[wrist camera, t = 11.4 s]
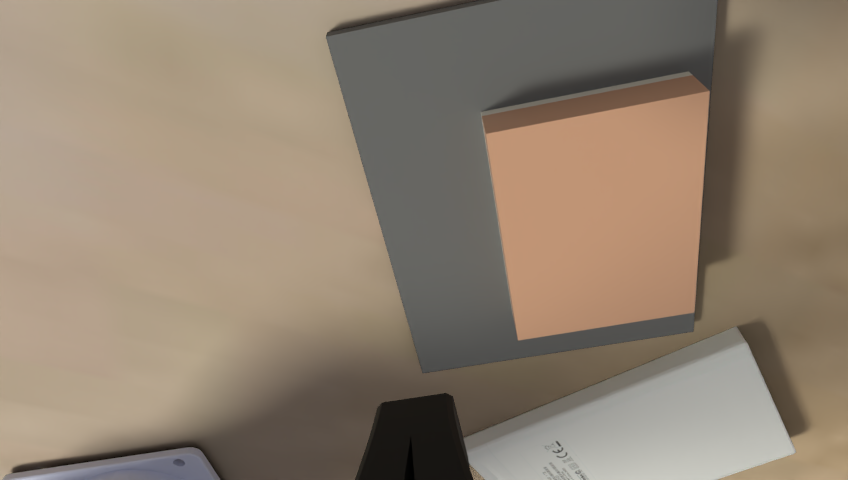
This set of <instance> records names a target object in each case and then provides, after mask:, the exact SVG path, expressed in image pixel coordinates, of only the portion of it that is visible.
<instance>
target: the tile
mask: <svg viewBox="0 0 848 480" xmlns="http://www.w3.org/2000/svg"><path fill="white" fill-rule="evenodd" d="M709 95H710V91H709V90H708V89H707V88H706V87H705V86H704V85H703V84H702V83H701V82H700V81H699V80H697V79H696V78H695V77H694V76H693V75H692V74H691V73H690V72H689V71H688V72H683V73H677V74H672V75H667V76H662V77H657V78H652V79H647V80H642V81H636V82H631V83H626V84H621V85H616V86H611V87H606V88H601V89H595V90H590V91H585V92H580V93H575V94H570V95H565V96H560V97H554V98H549V99H544V100H539V101H534V102H529V103H524V104H519V105H514V106H508V107H503V108H498V109H493V110H488V111H483V112H481V117H482V124H483V130H484V136H485V143H486V149H487V155H488V162H489V168H490V175H491V181H492V187H493V194H494V200H495V206H496V213H497V219H498V225H499V232H500V238H501V244H502V251H503V257H504V263H505V270H506V276H507V282H508V289H509V295H510V301H511V308H512V314H513V318H514V323H515V328H516V333H517V338H518V340H525V339H531V338H537V337H544V336H550V335H556V334H562V333H569V332H575V331H581V330H588V329H594V328H600V327H607V326H613V325H619V324H625V323H632V322H638V321H644V320H651V319H657V318H663V317H670V316H676V315H682V314H688V313H694V311H695V296H696V282H697V268H698V253H699V239H700V224H701V210H702V196H703V181H704V167H705V153H706V138H707V124H708V109H709Z"/></svg>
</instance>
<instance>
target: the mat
mask: <svg viewBox="0 0 848 480" xmlns="http://www.w3.org/2000/svg"><path fill="white" fill-rule="evenodd" d="M717 3H718V0H479V1H475V2H470V3H465V4H460V5H456V6H451V7H446V8H441V9H437V10H432V11H427V12H422V13H418V14H413V15H408V16H403V17H398V18H394V19H389V20H384V21H379V22H375V23H370V24H365V25H360V26H356V27H351V28H346V29H341V30H337V31H332V32H327V35H326V39H327V42H328V46H329V49H330V53H331V56H332V60H333V63H334V67H335V70H336V74H337V77H338V81H339V84H340V88H341V91H342V94H343V98H344V101H345V105H346V108H347V112H348V115H349V119H350V122H351V126H352V129H353V133H354V136H355V140H356V143H357V147H358V150H359V154H360V157H361V161H362V164H363V167H364V171H365V174H366V178H367V181H368V185H369V188H370V192H371V195H372V199H373V202H374V206H375V209H376V213H377V216H378V220H379V223H380V227H381V230H382V234H383V237H384V241H385V244H386V247H387V251H388V254H389V258H390V261H391V265H392V268H393V272H394V275H395V279H396V282H397V286H398V289H399V293H400V296H401V300H402V303H403V307H404V310H405V314H406V317H407V320H408V324H409V327H410V331H411V334H412V338H413V341H414V345H415V348H416V352H417V355H418V359H419V362H420V366H421V369H422V373H428V372H434V371H441V370H447V369H454V368H460V367H467V366H473V365H480V364H486V363H493V362H499V361H506V360H512V359H519V358H525V357H532V356H538V355H545V354H551V353H558V352H564V351H571V350H577V349H584V348H590V347H596V346H603V345H609V344H616V343H622V342H629V341H635V340H642V339H648V338H655V337H661V336H668V335H674V334H681V333H687V332H693V330H694V316H695V311H694V313H688V314H682V315H676V316H670V317H663V318H657V319H651V320H644V321H638V322H632V323H625V324H619V325H613V326H607V327H600V328H594V329H588V330H581V331H575V332H569V333H562V334H556V335H550V336H544V337H537V338H531V339H525V340H518V338H517V333H516V328H515V323H514V318H513V314H512V308H511V301H510V295H509V289H508V282H507V276H506V270H505V263H504V257H503V251H502V244H501V238H500V232H499V225H498V219H497V213H496V206H495V200H494V194H493V187H492V181H491V175H490V168H489V162H488V155H487V149H486V143H485V136H484V130H483V124H482V117H481V112H483V111H488V110H493V109H498V108H503V107H508V106H514V105H519V104H524V103H529V102H534V101H539V100H544V99H549V98H554V97H560V96H565V95H570V94H575V93H580V92H585V91H590V90H595V89H601V88H606V87H611V86H616V85H621V84H626V83H631V82H636V81H642V80H647V79H652V78H657V77H662V76H667V75H672V74H677V73H683V72H688V71H689V72H690V73H691V74H692V75H693V76H694V77H695V78H696V79H697V80H699V81H700V82H701V83H702V84H703V85H704V86H705V87H706V88H707V89H708V90H709V91H710V95H709V109H708V124H707V138H706V153H707V139H708V125H709V112H710V98H711V84H712V71H713V57H714V43H715V30H716V16H717ZM706 153H705V166H706ZM704 180H705V167H704ZM703 194H704V181H703ZM702 207H703V196H702ZM701 221H702V210H701ZM700 234H701V224H700ZM699 248H700V239H699ZM698 262H699V253H698ZM697 275H698V268H697ZM696 289H697V282H696ZM695 303H696V296H695Z"/></svg>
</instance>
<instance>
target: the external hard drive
mask: <svg viewBox="0 0 848 480" xmlns="http://www.w3.org/2000/svg"><path fill="white" fill-rule="evenodd" d="M463 439H464V443H465V447H466V451H467V455H468V461H469V464H470V465H471V466H472V467H473V468H474V469H475V470H476V471H477V472H478V473H479V474H480V475H481V476H482V477H483V478H484V479H485V480H717V479H720V478H723V477H726V476H729V475H732V474H735V473H738V472H741V471H744V470H747V469H750V468H753V467H756V466H759V465H762V464H765V463H768V462H770V461H773V460H777V459H780V458H783V457H786V456H789V455H792V454H794V453H796V450H795V448H794V446H793V443H792V441H791V439H790V437H789V435H788V432H787V430H786V428H785V426H784V423H783V421H782V419H781V417H780V414H779V412H778V410H777V408H776V406H775V403H774V401H773V399H772V396H771V394H770V392H769V390H768V388H767V385H766V383H765V381H764V378H763V376H762V374H761V372H760V370H759V367H758V365H757V363H756V361H755V358H754V357H753V355H752V353H751V350H750V348H749V345H748V343H747V342H746V341H745V339H744V337H743V336H742V334H741V332H740V331H739V329H738V328H737V327H733V328H731V329H728V330H726V331H724V332H721V333H719V334H716V335H714V336H711V337H709V338H706V339H704V340H702V341H699V342H697V343H694V344H692V345H689V346H687V347H685V348H682V349H680V350H677V351H675V352H672V353H670V354H668V355H665V356H663V357H660V358H658V359H655V360H653V361H651V362H648V363H646V364H643V365H641V366H638V367H636V368H633V369H631V370H629V371H626V372H624V373H621V374H619V375H616V376H614V377H611V378H609V379H607V380H604V381H602V382H599V383H597V384H594V385H592V386H589V387H587V388H584V389H582V390H580V391H577V392H575V393H572V394H570V395H567V396H565V397H563V398H560V399H558V400H555V401H553V402H550V403H548V404H545V405H543V406H540V407H538V408H536V409H533V410H531V411H528V412H526V413H523V414H521V415H519V416H516V417H514V418H511V419H509V420H506V421H504V422H501V423H499V424H497V425H494V426H492V427H489V428H487V429H485V430H482V431H479V432H477V433H475V434H472V435H470V436H467V437H465V438H463Z"/></svg>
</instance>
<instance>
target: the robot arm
mask: <svg viewBox="0 0 848 480" xmlns="http://www.w3.org/2000/svg"><path fill="white" fill-rule="evenodd" d="M2 480H220V478H219V477H218V475H217V474H216V472H215V471H214V469H213V468H212V466H211V465H210V463H209V462H208V460H207V458H206V457H205V455H204V454H203V452H202V451H201V450H199V449H197V448H194V447H186V448H180V449H173V450H166V451H159V452H153V453H146V454H139V455H132V456H126V457H119V458H112V459H105V460H99V461H92V462H85V463H78V464H72V465H65V466H58V467H51V468H45V469H38V470H31V471H24V472H18V473H11V474H7V475H5V476H4V478H3V479H2ZM355 480H473V477H472V475H471V472H470V467H469V461H468V455H467V451H466V447H465V443H464V439H463V435H462V431H461V427H460V423H459V419H458V415H457V411H456V407H455V403H454V399H453V396H451V395H449V394H447V393H444V394H437V395H430V396H424V397H417V398H410V399H404V400H397V401H390V402H384V403H381V404H380V406H379V407H378V408H377V412H376V416H375V420H374V423H373V427H372V430H371V434H370V437H369V440H368V443H367V447H366V450H365V453H364V456H363V459H362V461H361V464H360V467H359V470H358V473H357V476H356V478H355Z"/></svg>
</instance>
